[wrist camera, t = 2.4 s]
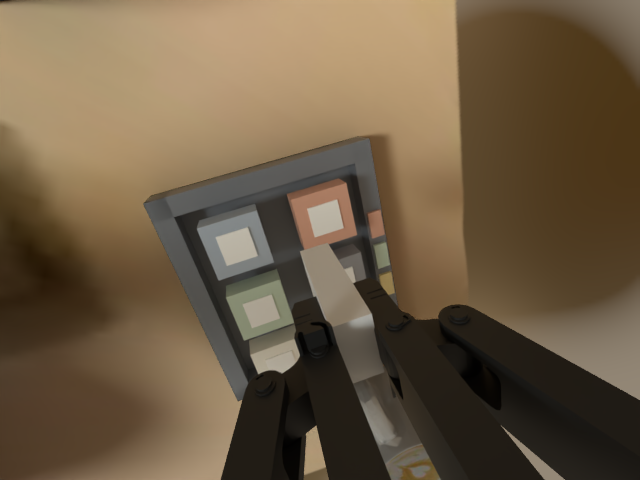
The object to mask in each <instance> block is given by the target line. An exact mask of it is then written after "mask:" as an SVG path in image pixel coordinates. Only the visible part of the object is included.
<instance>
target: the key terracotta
mask: <svg viewBox="0 0 640 480" xmlns="http://www.w3.org/2000/svg"><path fill="white" fill-rule="evenodd" d="M287 197H288V200H289V204H290V207H291V211H292V214H293V218H294V221H295V225H296V228H297V231H298V235H299V238H300V242H301V244H302V246H303V248H304V250H306V249H309V248H312V247H315V246H318V245H322V244H325V243H328V244H331V243H334V242H337V241H340V240H343V239H347V238H350V237H353V236H356V235H357V232H356V227H355V222H354V217H353V213H352V208H351V203H350V198H349V194H348V189H347V184H346V183H345V182H344V181H342V180H341V179H339V178H338V179H335V180H331V181H328V182H325V183H321V184H318V185H315V186H311V187H308V188H305V189H302V190H298V191H295V192H292V193H288V194H287Z"/></svg>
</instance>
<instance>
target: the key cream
mask: <svg viewBox="0 0 640 480" xmlns="http://www.w3.org/2000/svg"><path fill="white" fill-rule="evenodd" d="M295 332H296V329H295V324H294V325H291V326H288V327H285V328H282V329H280V330H277V331H274V332H271V333H268V334H266V335H263V336H260V337H257V338H254V339H252V340H249V346H250V356H251V358H252V360H253V363H254V365H255V368H256V370H257V372H258V374H260V373H262V372H265V371H268V370H276V371H278V372H281V373H284V372H285V371H287V370H288V369H289V368H291V367H292V366H293V365H294V364H295V363H296V362H297V360H298V358H299V356H300V354H299V351H298V348H297V345H296V342H295V339H294V335H295Z"/></svg>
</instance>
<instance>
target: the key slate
mask: <svg viewBox="0 0 640 480" xmlns="http://www.w3.org/2000/svg"><path fill="white" fill-rule="evenodd" d="M197 231H198V233H199V235H200V238H201V240H202V243H203V245H204V247H205V250H206V252H207V254H208V257H209V259H210V261H211V264H212V266H213V268H214V271H215V273H216V276H217V278H218V280H222V279H225V278H228V277H231V276H234V275H237V274H240V273H243V272H246V271H249V270H252V269H255V268H259V267H262V266H265V265H268V264H271V263H274V260H273V257H272V253H271V250H270V247H269V244H268V241H267V238H266V235H265V232H264V229H263V226H262V223H261V220H260V217H259V214H258V211H257V208H256V205H255V204H252V205H249V206H245V207H242V208H239V209H235V210H232V211H229V212H225V213H222V214H219V215H216V216H212V217H209V218H206V219H202V220H199V223H198V226H197Z"/></svg>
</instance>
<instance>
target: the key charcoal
mask: <svg viewBox="0 0 640 480" xmlns="http://www.w3.org/2000/svg"><path fill="white" fill-rule="evenodd" d="M332 251H333V252H334V254H335V256H336V257H337V259H338V260H339V262H340V264H341V265H342V267H343V268H344V270H345V272H346V273H347V275H348V276H349V278H350V280H351V281H352V283H355V282H358V281H361V280H364V279H366V275H365V270H364V265H363V260H362V256H361V252H360V251H359V250H358V249H357V248H356V247H355V245H354V244H350V245H347V246H344V247H341V248H338V249H335V250H332Z"/></svg>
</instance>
